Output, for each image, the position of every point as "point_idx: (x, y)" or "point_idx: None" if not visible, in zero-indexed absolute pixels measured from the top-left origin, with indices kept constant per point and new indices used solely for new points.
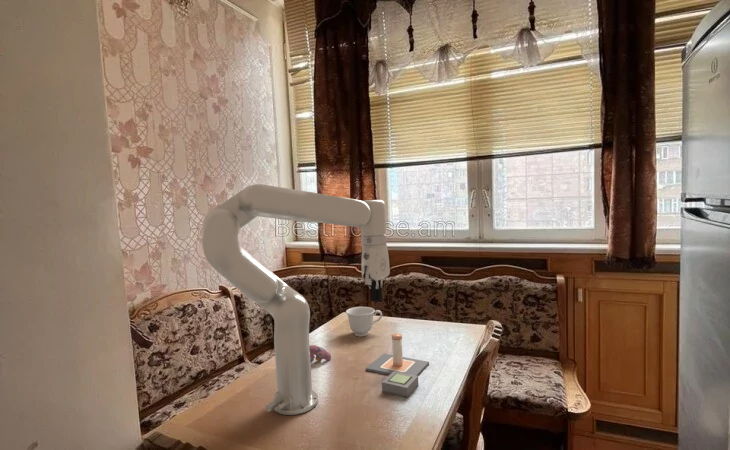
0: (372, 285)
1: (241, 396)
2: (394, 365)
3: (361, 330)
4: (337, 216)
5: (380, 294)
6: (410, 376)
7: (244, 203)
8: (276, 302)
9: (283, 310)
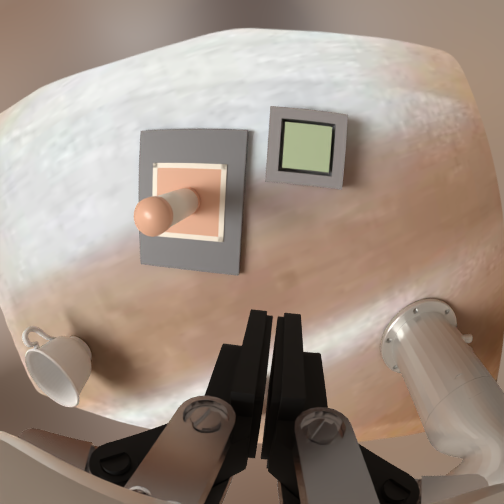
0: (389, 474)
1: (402, 413)
2: (199, 206)
3: (83, 352)
4: None
5: (267, 349)
6: (280, 124)
7: None
8: None
9: None
